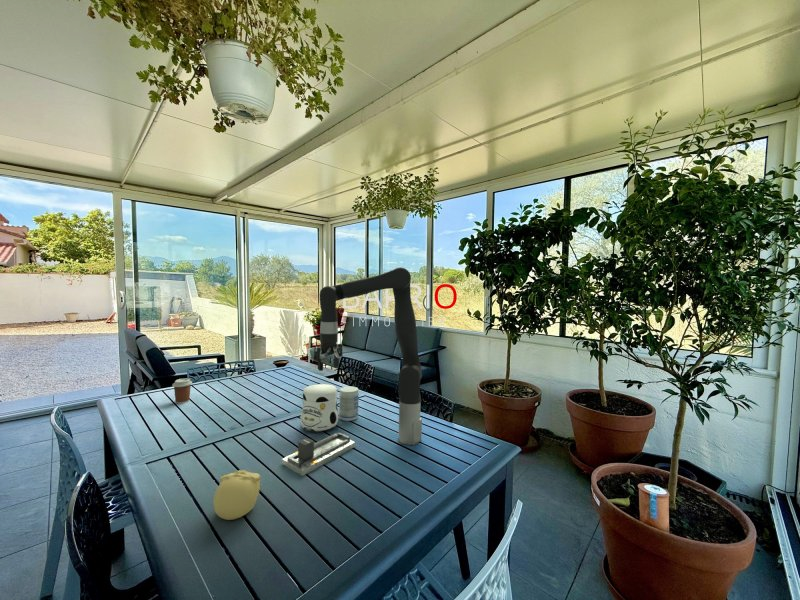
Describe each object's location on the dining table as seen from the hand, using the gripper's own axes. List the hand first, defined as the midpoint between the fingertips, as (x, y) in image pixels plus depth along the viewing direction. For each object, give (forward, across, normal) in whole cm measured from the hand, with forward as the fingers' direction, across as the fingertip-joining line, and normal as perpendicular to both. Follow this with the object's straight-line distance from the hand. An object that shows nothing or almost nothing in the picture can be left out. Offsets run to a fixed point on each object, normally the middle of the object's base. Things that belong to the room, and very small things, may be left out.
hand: (328, 368), depth 137 cm
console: (+30, -12, -10) cm, 34 cm away
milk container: (+30, +4, +10) cm, 32 cm away
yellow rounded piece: (+30, -47, -15) cm, 58 cm away
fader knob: (+28, -19, -10) cm, 35 cm away
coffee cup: (+30, -23, +94) cm, 101 cm away
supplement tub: (+30, +20, +7) cm, 37 cm away
